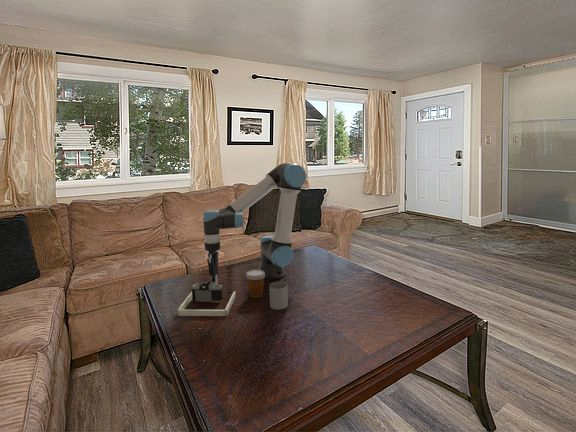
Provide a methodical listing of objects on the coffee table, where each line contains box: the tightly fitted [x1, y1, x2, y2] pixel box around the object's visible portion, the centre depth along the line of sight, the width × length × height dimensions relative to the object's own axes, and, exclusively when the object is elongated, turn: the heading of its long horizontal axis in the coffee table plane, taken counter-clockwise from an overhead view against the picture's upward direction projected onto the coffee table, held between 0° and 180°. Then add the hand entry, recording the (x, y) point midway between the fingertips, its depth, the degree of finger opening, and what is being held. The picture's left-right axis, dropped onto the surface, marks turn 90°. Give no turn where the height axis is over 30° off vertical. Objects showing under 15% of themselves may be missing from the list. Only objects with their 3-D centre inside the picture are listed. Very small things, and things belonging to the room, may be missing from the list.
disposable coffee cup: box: [245, 269, 265, 299], centre depth 173 cm, size 10×10×12 cm
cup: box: [268, 281, 289, 310], centre depth 162 cm, size 8×8×10 cm
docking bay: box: [176, 291, 237, 317], centre depth 164 cm, size 22×21×2 cm
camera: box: [191, 280, 224, 303], centre depth 170 cm, size 16×9×10 cm, turn 82°
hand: (214, 287), depth 176 cm, fingers closed
